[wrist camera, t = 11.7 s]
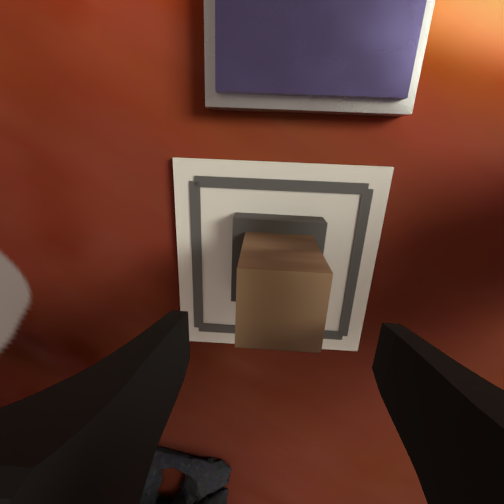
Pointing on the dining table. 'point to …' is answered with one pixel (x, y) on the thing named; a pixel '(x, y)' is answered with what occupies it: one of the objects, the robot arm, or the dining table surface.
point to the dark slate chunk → (187, 479)
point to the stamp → (280, 281)
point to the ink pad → (315, 55)
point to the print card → (282, 203)
